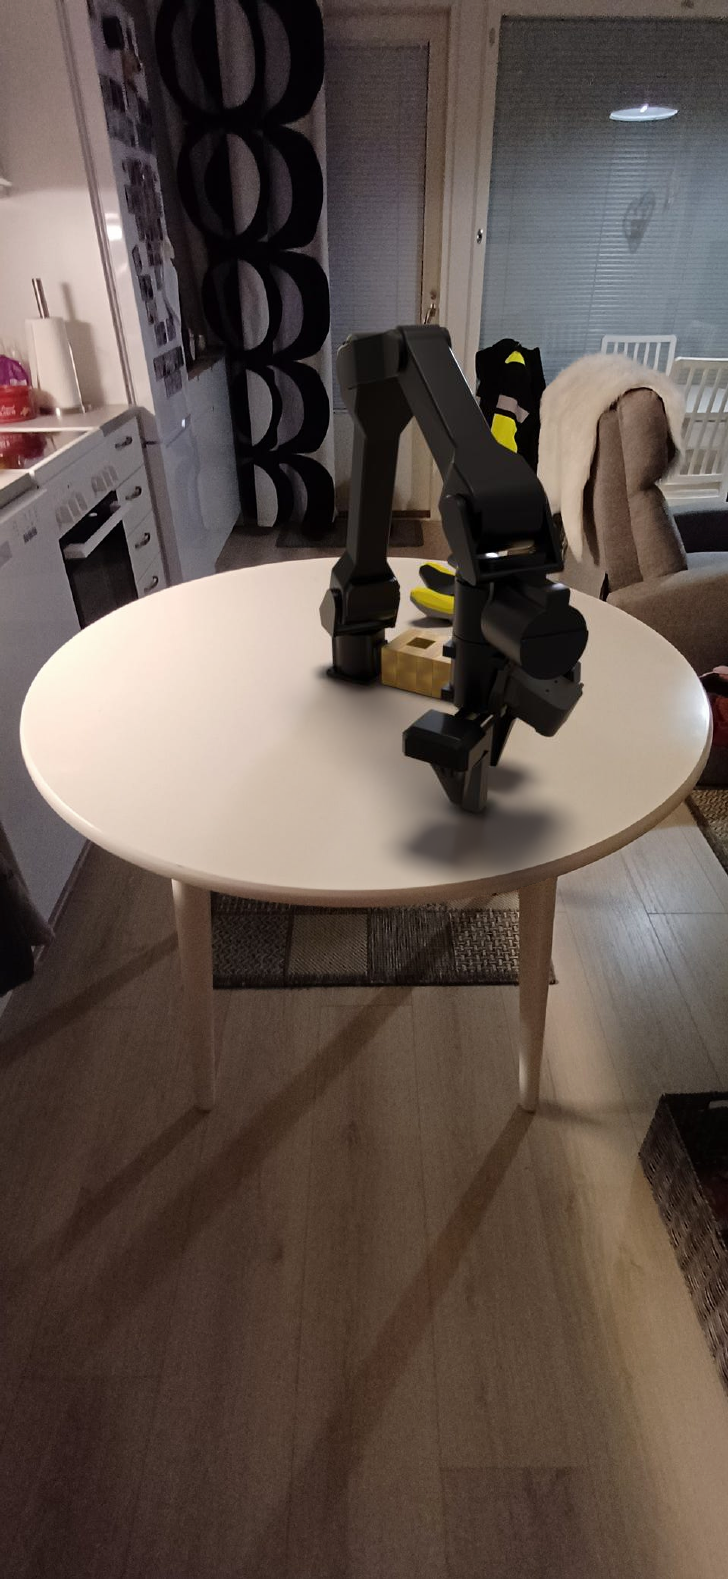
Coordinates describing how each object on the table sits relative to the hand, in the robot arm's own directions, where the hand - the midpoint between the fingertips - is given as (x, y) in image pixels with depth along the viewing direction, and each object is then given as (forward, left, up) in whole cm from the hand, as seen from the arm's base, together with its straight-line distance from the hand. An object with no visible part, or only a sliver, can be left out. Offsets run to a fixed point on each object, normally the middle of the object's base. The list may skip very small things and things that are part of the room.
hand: (474, 784), depth 74 cm
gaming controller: (-26, +45, -3) cm, 52 cm away
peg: (0, 0, -2) cm, 2 cm away
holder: (-13, +22, -2) cm, 26 cm away
